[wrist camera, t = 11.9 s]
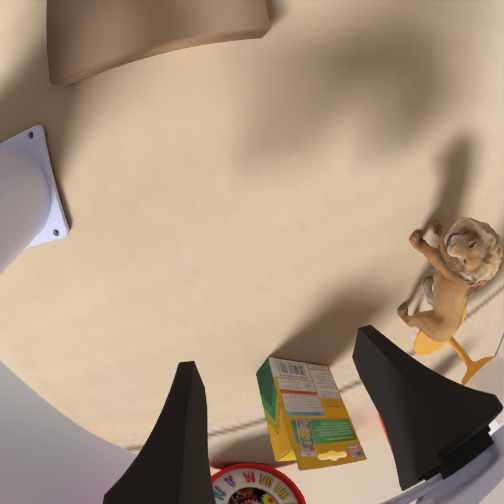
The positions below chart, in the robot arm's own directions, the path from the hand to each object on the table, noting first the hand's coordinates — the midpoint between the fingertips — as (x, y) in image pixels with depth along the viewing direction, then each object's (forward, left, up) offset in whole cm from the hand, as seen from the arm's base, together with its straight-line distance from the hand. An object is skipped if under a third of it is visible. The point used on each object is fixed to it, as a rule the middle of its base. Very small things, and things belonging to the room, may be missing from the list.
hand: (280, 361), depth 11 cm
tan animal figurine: (+15, -3, -10) cm, 18 cm away
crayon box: (+3, -14, -10) cm, 17 cm away
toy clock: (-6, -44, -10) cm, 45 cm away
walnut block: (-4, +20, -10) cm, 23 cm away
